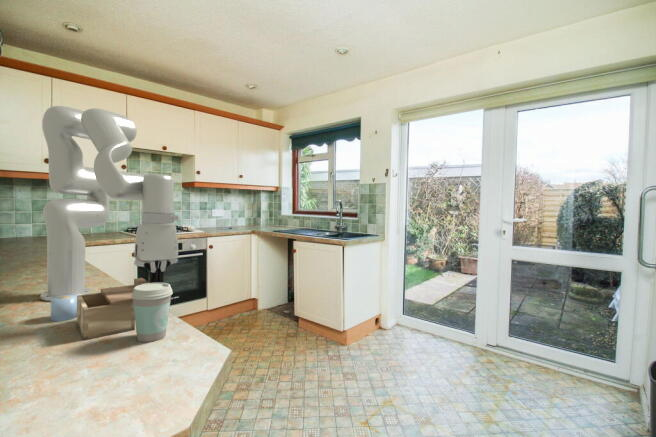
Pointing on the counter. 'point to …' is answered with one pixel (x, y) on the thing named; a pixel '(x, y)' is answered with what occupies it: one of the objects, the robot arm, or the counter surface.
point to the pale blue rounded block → (63, 308)
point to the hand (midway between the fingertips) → (156, 285)
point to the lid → (121, 292)
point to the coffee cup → (151, 310)
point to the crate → (103, 316)
